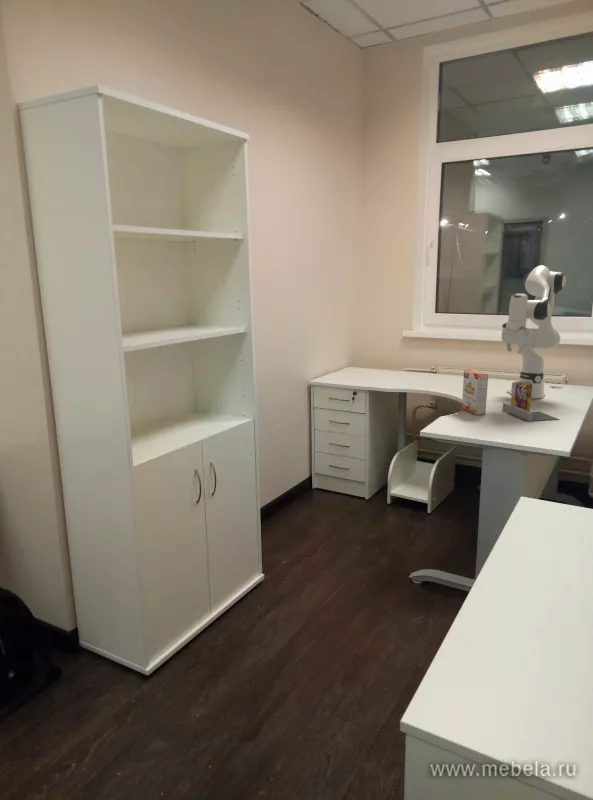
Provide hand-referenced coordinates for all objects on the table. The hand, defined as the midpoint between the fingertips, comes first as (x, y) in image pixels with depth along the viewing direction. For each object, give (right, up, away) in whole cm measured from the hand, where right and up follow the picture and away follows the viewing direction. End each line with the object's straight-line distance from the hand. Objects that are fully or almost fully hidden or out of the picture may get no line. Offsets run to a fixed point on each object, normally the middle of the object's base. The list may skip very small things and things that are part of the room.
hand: (514, 352), depth 295 cm
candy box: (+2, -31, -3) cm, 31 cm away
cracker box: (-23, -31, -4) cm, 38 cm away
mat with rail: (+3, -32, -10) cm, 34 cm away
